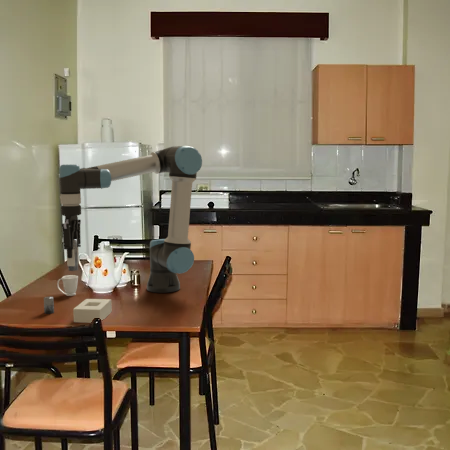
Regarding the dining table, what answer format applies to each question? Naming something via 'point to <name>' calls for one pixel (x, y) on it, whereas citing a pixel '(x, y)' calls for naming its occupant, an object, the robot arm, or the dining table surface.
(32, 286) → the dining table surface
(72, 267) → the long pin
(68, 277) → the cup
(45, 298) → the short pin
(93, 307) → the hole block
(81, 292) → the dining table surface
